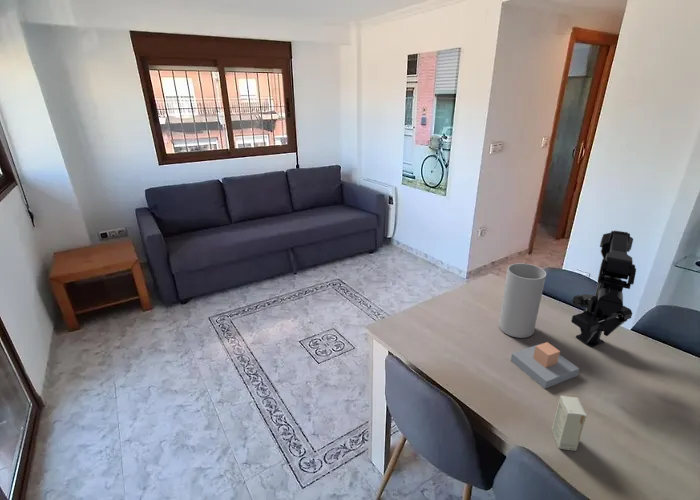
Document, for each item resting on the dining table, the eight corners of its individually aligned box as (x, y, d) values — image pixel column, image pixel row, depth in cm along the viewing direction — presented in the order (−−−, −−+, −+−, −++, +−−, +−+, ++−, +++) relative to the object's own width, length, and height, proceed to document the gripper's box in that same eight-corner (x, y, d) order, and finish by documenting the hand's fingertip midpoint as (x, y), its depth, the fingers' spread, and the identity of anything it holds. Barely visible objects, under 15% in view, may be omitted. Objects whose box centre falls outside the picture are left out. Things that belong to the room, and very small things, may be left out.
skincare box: (576, 451, 93) (588, 417, 88) (558, 449, 94) (568, 414, 89) (568, 430, 99) (578, 396, 94) (550, 428, 100) (560, 394, 95)
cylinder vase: (539, 338, 135) (552, 279, 125) (505, 339, 135) (515, 279, 125) (525, 319, 146) (536, 263, 136) (493, 319, 147) (502, 263, 137)
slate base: (541, 349, 129) (543, 342, 128) (577, 375, 117) (579, 368, 116) (510, 360, 125) (511, 353, 123) (544, 388, 113) (546, 381, 112)
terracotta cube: (544, 354, 123) (547, 342, 121) (557, 363, 119) (560, 351, 116) (533, 358, 121) (535, 346, 119) (545, 367, 117) (548, 355, 115)
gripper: (604, 278, 119) (592, 318, 125) (561, 290, 113) (551, 331, 119) (640, 294, 110) (625, 337, 116) (595, 308, 104) (582, 352, 110)
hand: (595, 338), depth 116 cm, fingers open, 9 cm apart
